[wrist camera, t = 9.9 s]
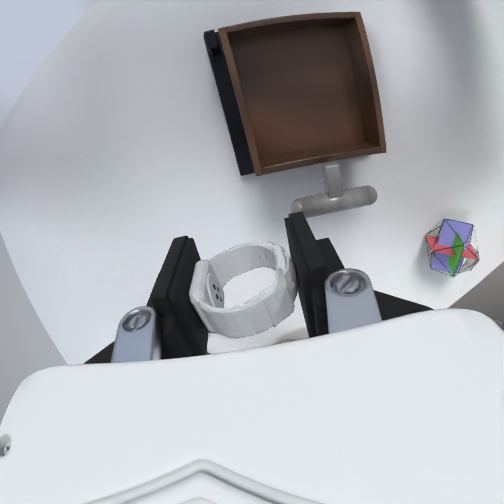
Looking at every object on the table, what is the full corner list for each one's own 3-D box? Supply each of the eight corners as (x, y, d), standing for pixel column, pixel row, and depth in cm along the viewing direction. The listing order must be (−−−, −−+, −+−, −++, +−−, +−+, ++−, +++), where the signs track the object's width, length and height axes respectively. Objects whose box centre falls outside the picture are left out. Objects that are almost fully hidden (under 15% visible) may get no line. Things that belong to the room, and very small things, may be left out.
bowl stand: (204, 37, 21) (196, 25, 17) (341, 16, 19) (359, 4, 15) (240, 173, 27) (240, 188, 24) (368, 149, 26) (388, 159, 22)
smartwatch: (281, 220, 11) (297, 282, 8) (295, 265, 12) (312, 332, 9) (196, 248, 12) (178, 314, 8) (216, 288, 13) (208, 358, 10)
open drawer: (221, 39, 18) (214, 20, 13) (342, 22, 17) (372, 4, 12) (262, 198, 25) (268, 229, 20) (370, 177, 24) (402, 201, 19)
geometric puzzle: (407, 269, 31) (463, 298, 26) (421, 216, 28) (484, 243, 22) (427, 249, 35) (475, 273, 30) (438, 203, 32) (491, 225, 26)
